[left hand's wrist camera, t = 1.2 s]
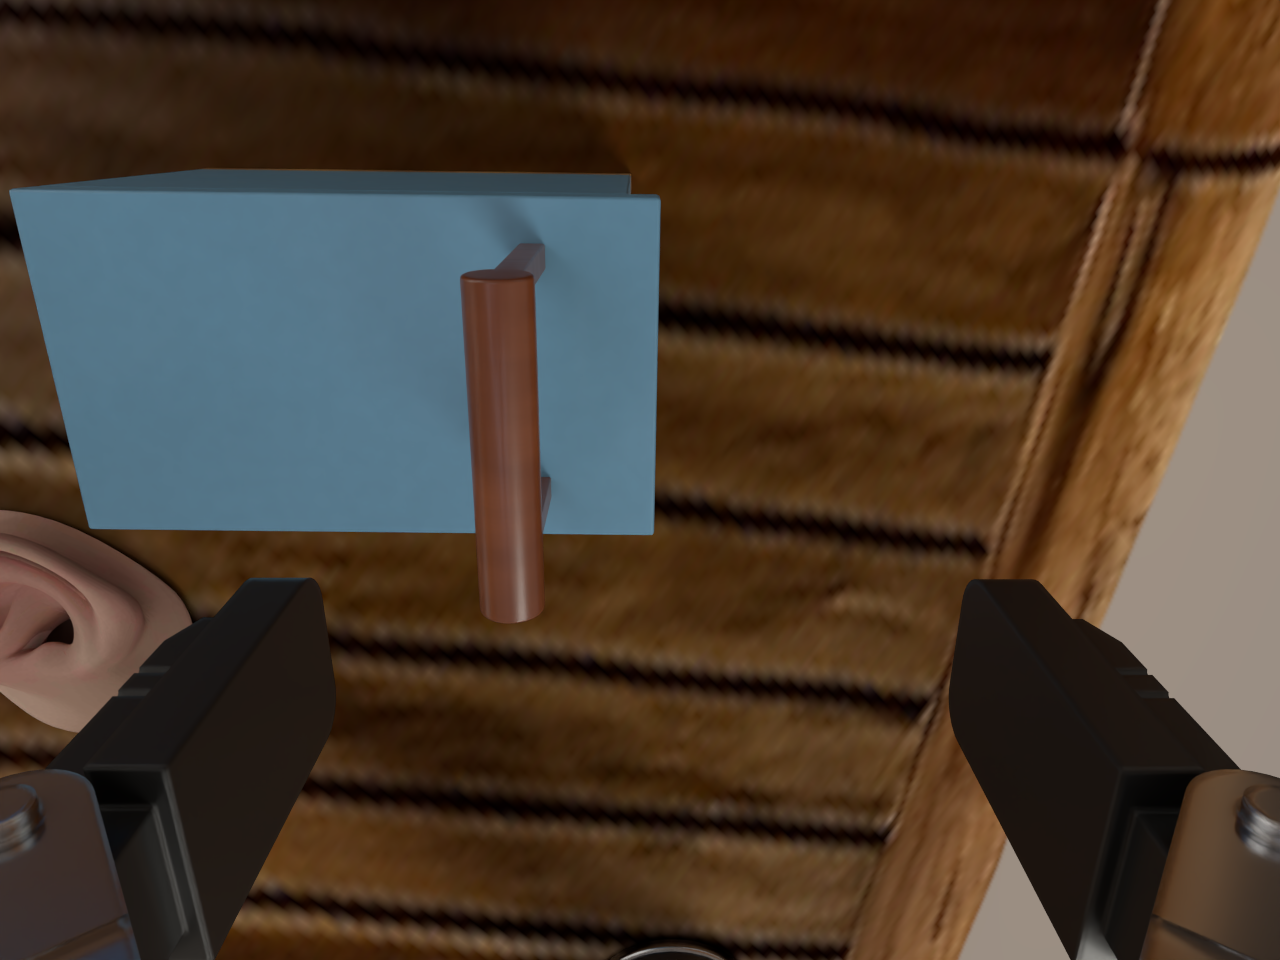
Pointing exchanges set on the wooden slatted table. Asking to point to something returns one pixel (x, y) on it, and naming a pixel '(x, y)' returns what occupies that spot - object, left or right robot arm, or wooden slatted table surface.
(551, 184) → the chest
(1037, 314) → the wooden slatted table surface
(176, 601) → the anatomical model
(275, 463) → the lid
